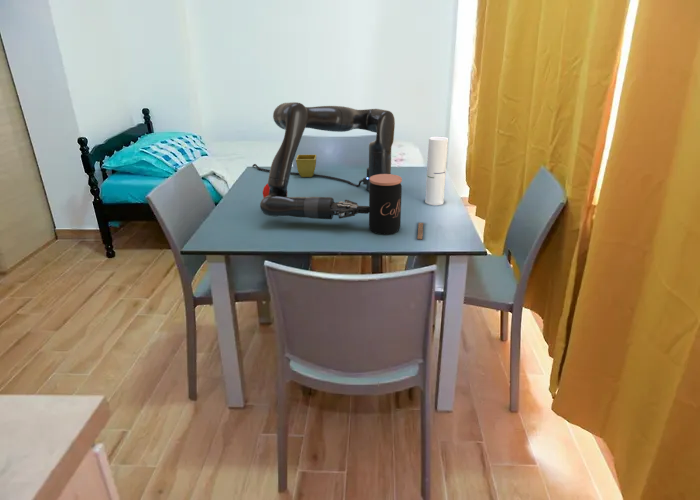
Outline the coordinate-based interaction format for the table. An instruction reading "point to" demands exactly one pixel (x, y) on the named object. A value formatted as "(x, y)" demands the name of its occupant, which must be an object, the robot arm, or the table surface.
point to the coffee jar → (385, 203)
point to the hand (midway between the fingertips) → (369, 209)
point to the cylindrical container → (436, 170)
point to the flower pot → (306, 165)
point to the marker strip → (420, 231)
